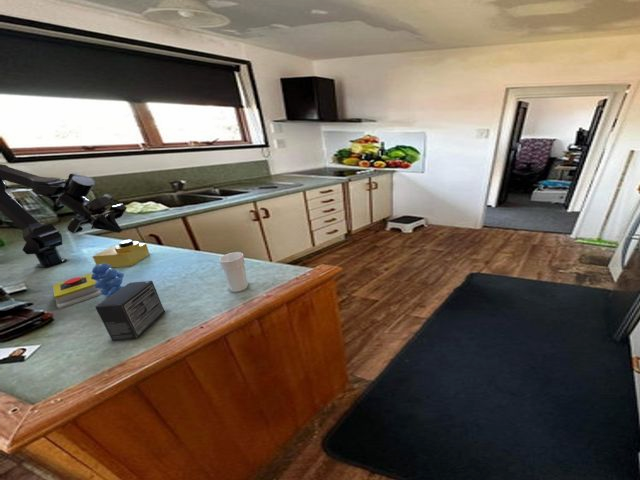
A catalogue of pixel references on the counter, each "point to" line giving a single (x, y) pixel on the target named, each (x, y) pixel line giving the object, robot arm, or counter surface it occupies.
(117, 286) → the grapes
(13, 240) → the counter surface
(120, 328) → the small box
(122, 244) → the press button
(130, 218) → the counter surface
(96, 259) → the yellow angular block
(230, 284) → the cup
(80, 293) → the emergency button
